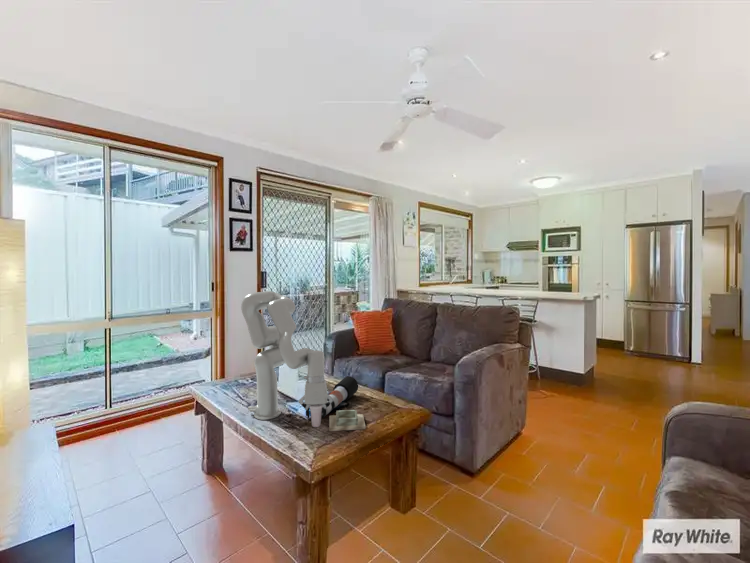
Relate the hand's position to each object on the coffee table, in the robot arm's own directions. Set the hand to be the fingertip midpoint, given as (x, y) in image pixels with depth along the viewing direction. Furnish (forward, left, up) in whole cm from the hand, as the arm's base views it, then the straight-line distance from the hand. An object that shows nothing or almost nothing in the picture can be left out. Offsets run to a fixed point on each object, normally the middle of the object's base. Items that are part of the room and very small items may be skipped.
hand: (316, 416), depth 162 cm
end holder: (+14, 0, -4) cm, 15 cm away
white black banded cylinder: (+9, +20, -4) cm, 22 cm away
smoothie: (0, 0, -4) cm, 4 cm away
